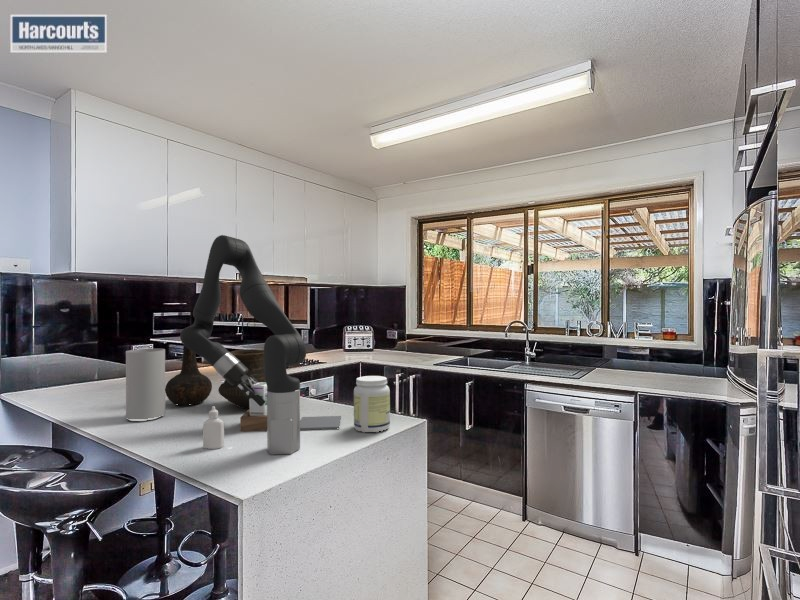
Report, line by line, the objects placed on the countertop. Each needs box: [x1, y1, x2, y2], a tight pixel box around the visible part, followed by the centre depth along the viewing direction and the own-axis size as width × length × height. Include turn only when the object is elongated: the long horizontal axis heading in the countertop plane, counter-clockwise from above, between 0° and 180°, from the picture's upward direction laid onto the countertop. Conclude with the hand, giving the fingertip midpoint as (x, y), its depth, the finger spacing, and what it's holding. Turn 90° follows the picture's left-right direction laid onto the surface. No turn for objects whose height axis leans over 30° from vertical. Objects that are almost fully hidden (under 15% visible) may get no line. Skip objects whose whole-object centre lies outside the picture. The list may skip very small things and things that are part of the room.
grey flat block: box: [300, 415, 342, 431], centre depth 151 cm, size 14×14×1 cm
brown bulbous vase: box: [165, 341, 213, 406], centre depth 182 cm, size 18×18×28 cm
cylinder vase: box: [125, 348, 166, 419], centre depth 160 cm, size 12×12×25 cm
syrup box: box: [249, 382, 267, 416], centre depth 149 cm, size 6×6×14 cm
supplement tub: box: [353, 375, 391, 433], centre depth 145 cm, size 12×12×17 cm
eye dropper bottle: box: [202, 406, 225, 450], centre depth 127 cm, size 4×6×12 cm
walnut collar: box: [239, 408, 267, 432], centre depth 149 cm, size 11×11×4 cm
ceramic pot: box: [218, 348, 266, 409], centre depth 178 cm, size 24×24×22 cm
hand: (265, 401), depth 149 cm, fingers closed on syrup box, 7 cm apart
